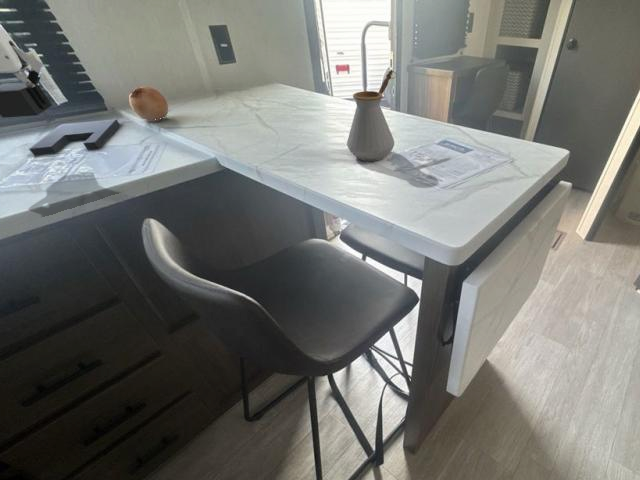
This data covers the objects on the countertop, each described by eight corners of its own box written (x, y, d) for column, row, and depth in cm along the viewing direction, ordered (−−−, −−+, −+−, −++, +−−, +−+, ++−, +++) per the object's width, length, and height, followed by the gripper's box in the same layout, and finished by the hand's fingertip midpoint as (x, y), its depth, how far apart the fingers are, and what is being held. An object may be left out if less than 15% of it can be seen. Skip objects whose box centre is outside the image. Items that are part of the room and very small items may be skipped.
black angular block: (2, 117, 65) (-18, 92, 62) (20, 107, 71) (3, 83, 67) (37, 115, 67) (19, 90, 63) (52, 105, 72) (36, 81, 69)
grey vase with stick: (384, 167, 72) (381, 91, 62) (340, 160, 75) (329, 86, 64) (413, 136, 86) (414, 70, 75) (374, 132, 89) (371, 67, 78)
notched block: (34, 155, 78) (28, 148, 77) (64, 129, 91) (61, 124, 90) (98, 148, 81) (94, 142, 80) (119, 124, 94) (116, 119, 93)
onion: (159, 134, 97) (134, 105, 87) (138, 120, 98) (111, 90, 89) (182, 115, 99) (160, 85, 90) (161, 102, 101) (137, 71, 91)
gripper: (-142, -6, 51) (-33, 117, 64) (-9, -5, 55) (68, 110, 68) (-107, -8, 56) (-13, 107, 69) (12, -7, 60) (80, 101, 73)
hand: (26, 108), depth 68 cm, fingers closed on black angular block, 6 cm apart
